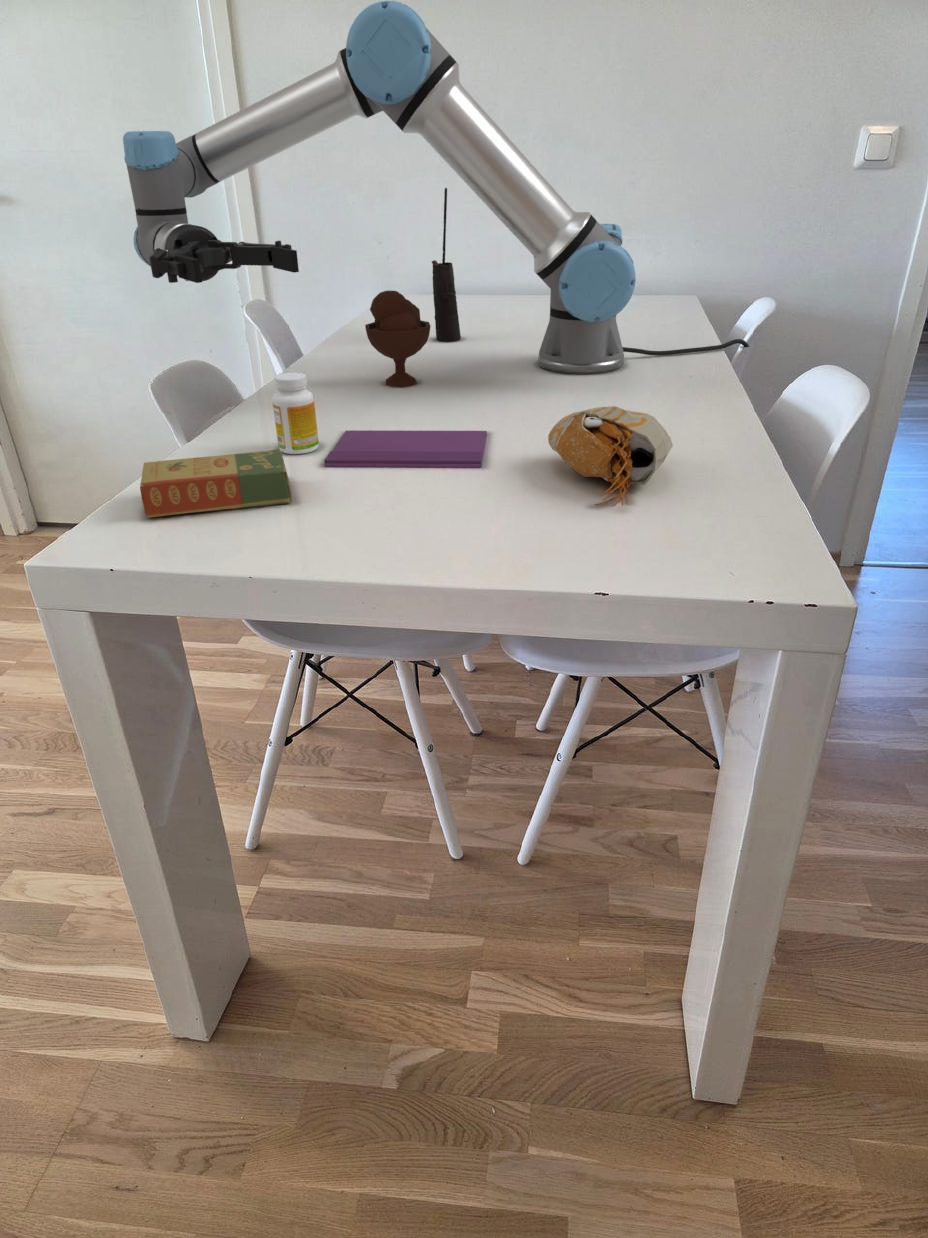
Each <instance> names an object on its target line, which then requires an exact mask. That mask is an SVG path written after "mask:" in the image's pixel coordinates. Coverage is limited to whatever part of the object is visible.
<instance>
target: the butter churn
mask: <svg viewBox="0 0 928 1238" xmlns="http://www.w3.org/2000/svg"><path fill="white" fill-rule="evenodd" d="M443 194H444V198H443V199H444V202H443V232H442V233H443V234H442V235H443V236H442V259H441V260H442V261H441V262H439V263H438V261H437V260H434V259H433V260H432V261H431V265H432V294H433V306H434V307H433V309H434V322H435V323H434V325H435V339H436V341H437V342H441V343H452V342H458V341H460V340H461V339H462V336H461V329H460V328H461V327H460V319H459V311H458V310H459V309H458V301H457V295H456V294H457V291H456V284H455V274H454V267H453V263H452V262H449V261H447V262H446V241H447V240H446V238H447V236H446V233H447V212H448V211H447V210H448V209H447V207H448V187H445V188H444V193H443Z"/></svg>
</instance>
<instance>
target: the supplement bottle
mask: <svg viewBox="0 0 928 1238" xmlns="http://www.w3.org/2000/svg"><path fill="white" fill-rule="evenodd" d="M274 384H275V388H276V390H278V391H277V392H275V393H274V394H273V395H272V399H271V401H272V408H273V415H274V424H275V431H276V438H277V445H278V450H281V452H282V453H283V454H287V455H301V454H302V455H303V454H307V453H308V454H309V453H311V452H314V451H316V450H317V449H318V448H319V446H320V443H319V442H320V441H319V433H318V424H317V415H316V407H315V399H314V395H313V392H311V391H310V390H308V389H306V388H307V387H308V385H307V384H308V381H307V375H306V374H305V373H301V372H286V373H280V374H276V376H274Z"/></svg>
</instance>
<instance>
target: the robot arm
mask: <svg viewBox="0 0 928 1238" xmlns="http://www.w3.org/2000/svg"><path fill="white" fill-rule="evenodd" d="M347 33H348V34H347V38H346V42H345V43H346V44H345V47H344V48H342V49H341V50H338V52H337V55H336V58H335V61H334V62H333V63H331V64H329V65H327V66H325V67H322V68H321V69H318V70H316V72H313V73H311V74H309V75H307V76H305V77H304V78H302V79H299V80H298V81H296V82H293V83H292V84H290V85H288V86H286V87H284V88H282V89H280V90H278V91H276V92H274V93H272V94H270V95H269V96H266V97H264V98H263V99H260V100H259V101H256V102H255V103H253V104H251V105H249V106H247V107H245V108H243V109H241V110H239V111H237V112H234V113H233V114H231V115H229V116H227V117H225V118H223V119H221V120H220V121H217V122H216V123H214V124H211V125H209V126H208V127H206V128H203V129H202V130H200V131H198V132H196V133H195V134H193V135H190V136H188V137H186V138H184V139H182V140H180V141H178V142H176V138H175V136H174V134H173V133H172V132H171V131H169V130H137V131H136V130H135V131H134V130H133V131H131V130H130V131H126V132H125V133H124V135H122V144H123V152H124V158H123V159H124V163H125V165H126V169H127V175H128V180H129V184H130V189H131V196H132V201H133V205H134V209H135V210H134V211H135V218H136V224H137V226H136V228H135V231H134V234H133V247H134V250H135V252H136V255H137V257H139V259H141V261H142V262H144V264H146V265H147V266H149V267H150V270H151V275H152V278H154V279H160V278H162V277H163V276H164V275H166V274H167V279H168V283H170V284H175V283H179V280H178V278H179V279H183V280H184V281H185V282H192V283H195V284H199V283H200V284H201V283H203V282H206V281H209V280H211V279H213V278H214V277H215V276H216V275H217V274H218V272H219V271H222V270H235V269H236V270H237V269H239V268H241V267H242V266H258V267H259V266H264V267H265V266H267V267H269V266H271V267H272V268H273V269H276V270H281V271H285V272H289V273H294V274H295V273H299V272H300V269H299V260H298V250H296V249H292V244H290V243H289V244H288V243H286V244H282V240H275V241H274V243H256V242H255V243H252V242H245V241H239V242H236V241H222V240H220V239H218V238H217V236H216V235H215V234H214V233H213V232H212V231H211V230H209V229H208V228H206V227H203V226H200V225H196V224H193V223H192V224H191V223H189V218H188V211H187V205H186V199H185V198H190V199H191V198H195V197H197V196H200V195H202V194H203V193H204V192H206V191H207V189H209V188H211V187H214V186H215V185H218V184H219V183H220V182H222V181H224V180H227V179H228V178H229V179H230V177H232V176H233V177H234V176H235V175H237V174H239V173H241V172H243V171H245V170H247V169H249V168H251V167H253V166H256V165H257V164H259V163H261V162H263V161H265V160H268V159H270V158H272V157H274V156H276V155H278V154H280V153H282V152H284V151H286V150H288V149H290V148H292V147H294V146H296V145H298V144H300V143H302V142H304V141H306V140H308V139H311V138H312V137H314V136H317V135H318V134H320V133H323V132H324V131H327V130H329V129H331V128H333V127H335V126H338V125H339V124H341V123H344V122H345V121H347V120H349V119H351V118H353V117H356V116H359V117H361V118H364V119H368V118H370V117H372V116H375V115H376V114H379V113H381V112H383V113H385V115H386V116H387V117H388V118H389V119H390V120H391V121H392V122H393V123H394V124H395V125H396V126H397V127H398V128H399V130H401V132H403V134H417V135H420V136H421V137H422V138H423V139H424V140H425V141H426V142H427V144H429V146H430V147H431V148H432V149H433V150H434V151H435V152H436V153H437V154H438V155H439V156H440V157H441V158H442V159H443V161H444V162H446V164H447V165H448V166H449V167H450V168H451V169H452V170H453V171H454V173H456V175H457V176H458V177H459V178H460V179H461V180H462V181H463V182H464V183H465V184H466V185H467V186H468V188H470V189H471V190H472V191H473V193H474V194H475V195H476V196H477V197H478V198H479V199H480V201H482V202H483V204H485V206H486V207H487V208H488V209H489V210H490V211H491V212H492V213H493V214H494V215H495V216H496V217H497V219H498V220H500V222H501V223H502V224H503V225H504V226H505V227H506V228H507V229H508V231H510V232H511V234H512V235H513V236H514V237H516V239H517V240H518V241H519V242H520V243H521V245H523V246H524V248H526V250H527V251H529V253H531V255H532V256H533V272H534V273H535V274H536V275H537V277H539V278H540V280H542V281H543V283H544V284H545V285H546V286H547V287H548V288H549V289H550V297H549V299H550V300H549V301H550V302H549V320H548V323H547V326H546V330H545V332H544V336H543V339H542V342H541V344H540V347H539V350H538V357H537V358H538V360H537V361H538V362H537V364H538V365H539V367H541V368H543V369H544V370H547V371H551V372H556V373H564V374H576V375H577V374H582V375H583V374H584V375H586V374H587V375H588V374H601V373H607V372H612V371H616V370H618V369H621V368H622V367H623V366H624V361H625V360H624V359H625V353H633V354H640V355H646V356H647V355H648V356H671V355H681V354H689V353H691V354H692V353H700V352H701V353H702V352H709V351H718V350H723V349H726V348H728V347H731V346H733V345H736V344H740V345H742V346H743V347H744V348H750V345H749V343H748V342H747V341H746V340H744V339H741V338H736V339H731V340H729V341H727V342H724V343H722V344H716V345H709V346H708V345H707V346H700V347H689V348H678V349H670V350H649V349H643V348H635V347H626V346H623V345H622V344H623V343H622V339H621V336H620V332H619V327H618V323H617V315H618V314H619V313H621V312H622V311H623V310H624V309H625V307H626V306H627V305H628V303H630V300H631V299H632V297H633V294H634V291H635V286H636V279H637V277H636V276H637V275H636V270H635V265H634V260H633V258H632V256H631V255H630V254H629V252H628V251H627V250H626V248H624V247H623V245H622V244H623V237H622V233H623V232H622V228H621V226H620V225H618V224H616V223H600V222H599V221H597V219H596V218H595V217H594V215H592V214H591V212H590V211H575V210H574V209H573V208H572V207H571V206H570V205H569V203H567V201H566V200H564V199H563V197H562V196H561V195H560V194H559V193H558V191H556V189H555V188H554V187H553V186H552V184H550V182H548V180H547V179H546V178H545V177H544V176H543V175H542V174H541V173H540V171H539V170H538V169H537V168H536V167H535V166H534V165H533V163H531V161H530V160H529V159H528V158H527V157H526V156H525V154H524V153H522V151H521V150H520V149H519V148H518V147H517V146H516V144H515V143H514V142H513V141H512V140H511V139H510V138H509V137H508V136H507V134H506V133H505V132H504V131H503V129H501V128H500V127H499V125H498V124H497V123H496V122H495V121H494V120H493V118H491V116H490V115H489V114H488V113H487V112H486V111H485V109H483V108H482V106H481V105H480V104H479V103H478V102H477V100H475V98H474V97H473V96H472V95H471V94H470V93H469V92H468V90H467V89H466V88H465V87H464V86H463V85H462V83H461V80H460V65H459V63H458V61H456V59H455V58H454V57H453V56H452V55H451V54H450V52H448V51H447V49H446V48H445V47H444V46H443V45H442V43H441V42H440V41H439V40H438V39H437V38H436V36H434V35H433V33H432V32H431V31H430V30H429V29H428V27H426V25H425V21H423V19H422V18H421V16H420V15H419V14H418V13H417V12H416V11H415V10H414V9H413V7H412V8H411V6H409V5H407V4H404V3H402V2H399V1H396V0H381V1H377V2H375V3H372V4H370V5H367V7H365V8H364V9H363V10H361V12H360V13H358V15H357V16H355V19H354V20H353V21H352V24H351V26H350V29H349V31H348V32H347Z"/></svg>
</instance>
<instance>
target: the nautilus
mask: <svg viewBox="0 0 928 1238" xmlns="http://www.w3.org/2000/svg"><path fill="white" fill-rule="evenodd" d="M547 439H548V442H547V443H548V445H549V446H550V448H551V450H553V451H554V452H556V453H557V454H558V455H559V457H561V459H562V460H563V461H564V462H565V463H566V464H567V465H568V466H569V467H570V468H571V469H573V471H574V473H577V474H579V475H582V476H583V477H584V478H586V477H587V478H589V477H595V478H602V479H603V480H604V481H606V482H610V483H611V486H610V487H609V488H607V489H606V490H605V491H604V492H603V493H601V494H600V495H599V496H600V497H601V496H603V495H605V494H606V493H607V494H608V495H607V496H606V497H605V498H603V499H602V501H604V502H600V503H594V506H600V505H605V504H607V503H609V502H612V501H613V500H616V499H618V498H619V499H618V500H617V501H615V503H614V504H613V505H611V507H615V506H616V505H617V504H619V503H621V506H622V507H623V506H624V501H623V497H624V496H625V499H626V501H627V502H626V503H627V504H628V503H629V499H628V497H627V492H628V491H629V488H630V486H631V485H646V484H647V483H648V482H649V480H650V479H651V478H652V476H653V475H654V474H655V473H656V472H657V470H659V468H660V467H661V466H662V464H664V462H665V460H666V458H667V457H668V455H669V453H670V452H671V450H672V448H673V447H674V444H673V441H672V438H671V436H670V435H669V433H668V431H667V430H666V429H665V427H663V425H662V424H661V423H660V422H659V421H658V419H657V418H656V417H654V415H651V414H650V413H649V414H648V413H645V412H641V411H640V412H638V411H632V410H628V409H624V408H621V407H619V406H615V405H614V406H612V405H611V406H600V407H593V408H589V409H585V410H584V409H583V410H580V411H576V412H572V413H571V414H568V415H566V416H564V417H562V418H561V419H560V420H559V421H558V422H556V423H555V424H554V426H552V428H551V430H550V431H549V433H548V435H547ZM612 488H613V489H612ZM617 489H618V491H619V494H618V495H615V496H614V497H612V498H610V499H609V497H611V496H612V495H613V494H614V492H615V491H616V490H617ZM607 499H608V500H607ZM605 500H606V501H605Z"/></svg>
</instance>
